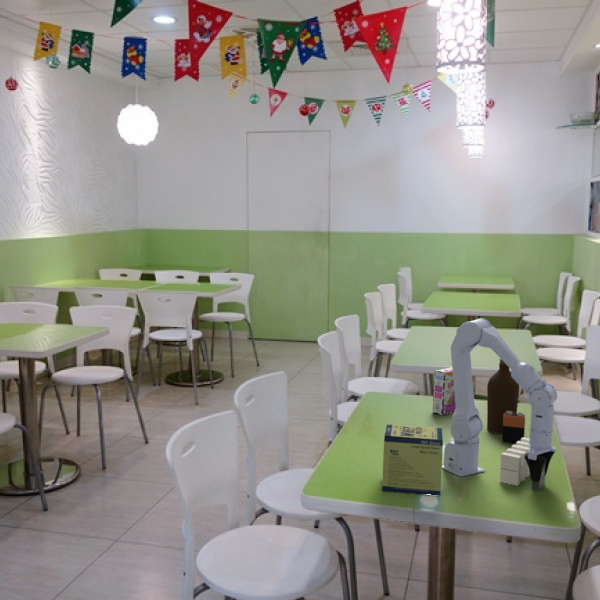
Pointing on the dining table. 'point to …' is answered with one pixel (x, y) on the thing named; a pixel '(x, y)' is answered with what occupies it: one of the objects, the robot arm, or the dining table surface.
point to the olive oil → (501, 397)
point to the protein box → (412, 459)
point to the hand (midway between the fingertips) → (538, 478)
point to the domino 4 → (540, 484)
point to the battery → (513, 427)
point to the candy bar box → (444, 391)
